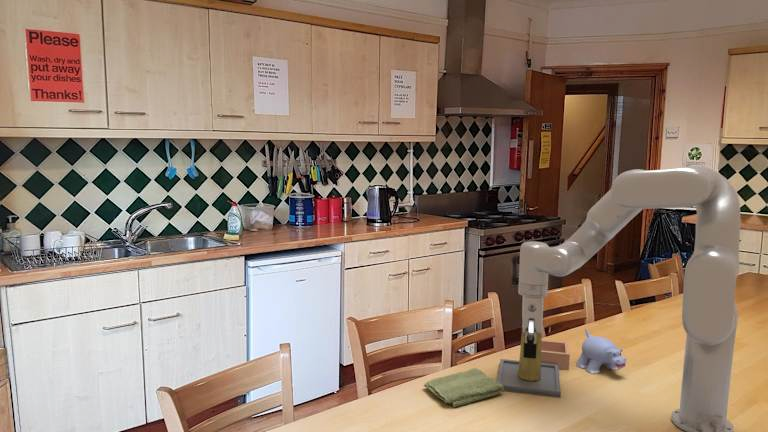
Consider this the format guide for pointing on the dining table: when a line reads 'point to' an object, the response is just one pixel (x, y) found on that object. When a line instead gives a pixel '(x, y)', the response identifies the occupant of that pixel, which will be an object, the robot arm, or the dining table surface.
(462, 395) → the washcloth
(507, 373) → the tray
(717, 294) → the robot arm
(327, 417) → the dining table surface
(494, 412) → the dining table surface
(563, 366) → the pink square frame
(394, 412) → the dining table surface
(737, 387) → the dining table surface
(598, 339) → the hippopotamus toy
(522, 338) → the vase
